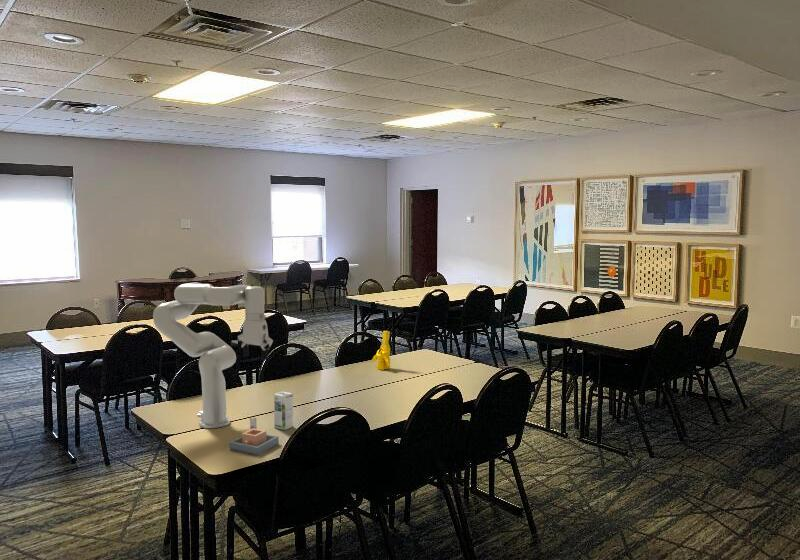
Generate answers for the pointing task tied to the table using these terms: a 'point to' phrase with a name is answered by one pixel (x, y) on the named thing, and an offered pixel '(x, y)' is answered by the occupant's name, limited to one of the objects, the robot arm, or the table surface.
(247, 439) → the salmon pink block
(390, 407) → the table surface
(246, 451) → the tray
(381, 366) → the figure statuette
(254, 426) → the stake
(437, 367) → the table surface
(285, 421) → the syrup box
